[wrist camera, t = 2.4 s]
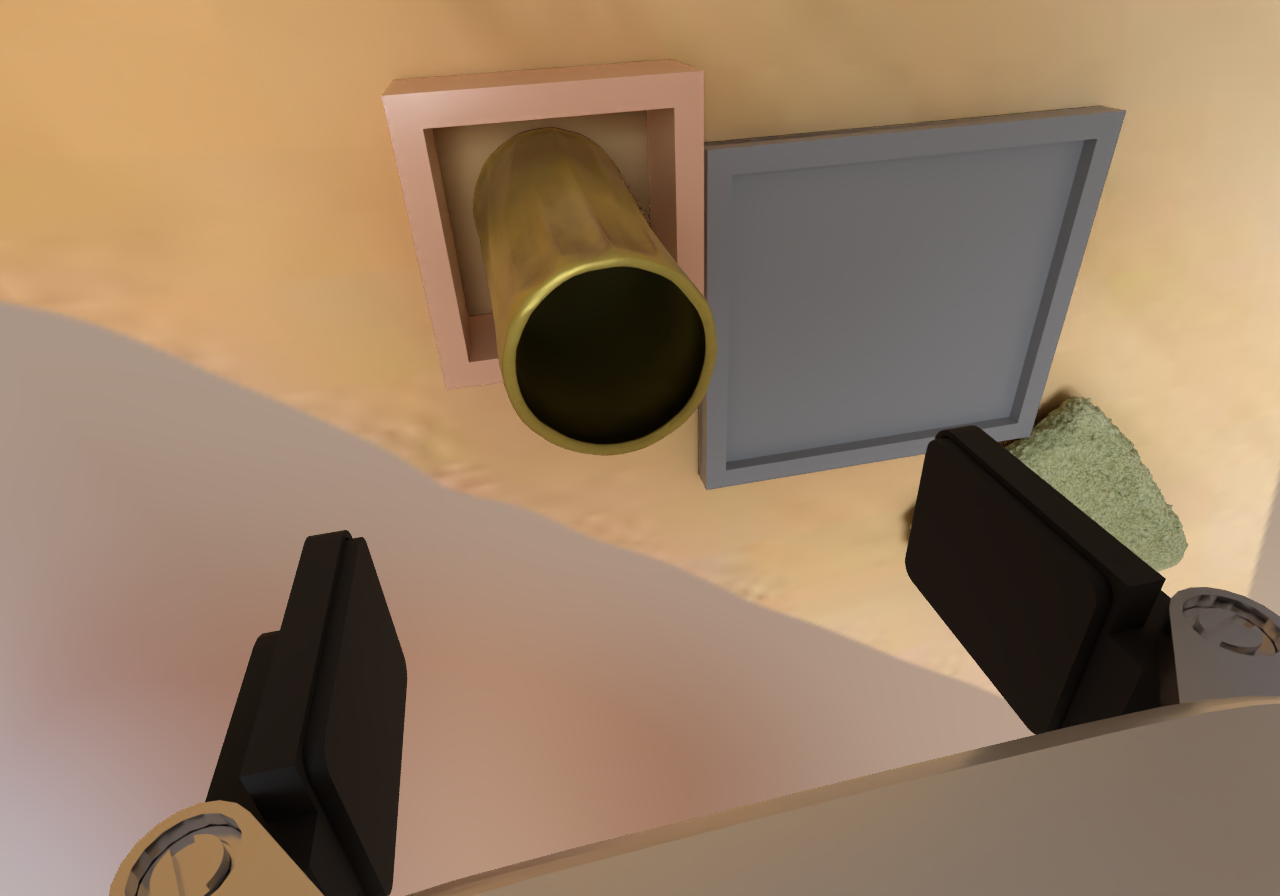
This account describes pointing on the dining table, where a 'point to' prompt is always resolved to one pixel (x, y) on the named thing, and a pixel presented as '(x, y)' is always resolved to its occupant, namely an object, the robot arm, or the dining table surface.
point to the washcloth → (1103, 479)
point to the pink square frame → (527, 96)
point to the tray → (889, 284)
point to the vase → (587, 299)
